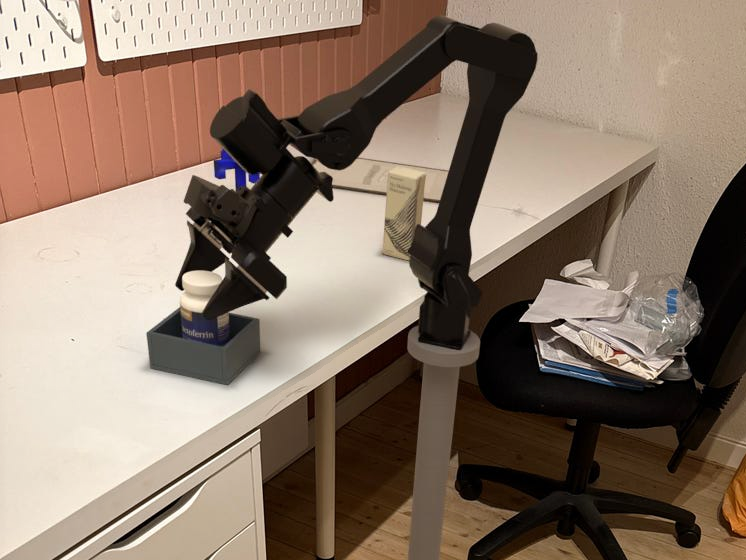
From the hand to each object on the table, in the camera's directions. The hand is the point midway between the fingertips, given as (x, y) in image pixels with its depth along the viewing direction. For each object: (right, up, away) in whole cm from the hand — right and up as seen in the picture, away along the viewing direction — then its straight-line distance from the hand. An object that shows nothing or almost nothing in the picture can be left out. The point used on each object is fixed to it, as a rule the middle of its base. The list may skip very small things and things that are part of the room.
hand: (191, 302), depth 116 cm
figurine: (-6, +34, +51) cm, 62 cm away
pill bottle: (0, -5, +5) cm, 7 cm away
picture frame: (+16, +50, +73) cm, 90 cm away
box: (+22, +23, +42) cm, 53 cm away
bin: (0, -5, +6) cm, 8 cm away
